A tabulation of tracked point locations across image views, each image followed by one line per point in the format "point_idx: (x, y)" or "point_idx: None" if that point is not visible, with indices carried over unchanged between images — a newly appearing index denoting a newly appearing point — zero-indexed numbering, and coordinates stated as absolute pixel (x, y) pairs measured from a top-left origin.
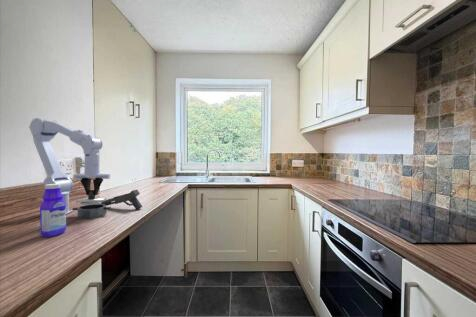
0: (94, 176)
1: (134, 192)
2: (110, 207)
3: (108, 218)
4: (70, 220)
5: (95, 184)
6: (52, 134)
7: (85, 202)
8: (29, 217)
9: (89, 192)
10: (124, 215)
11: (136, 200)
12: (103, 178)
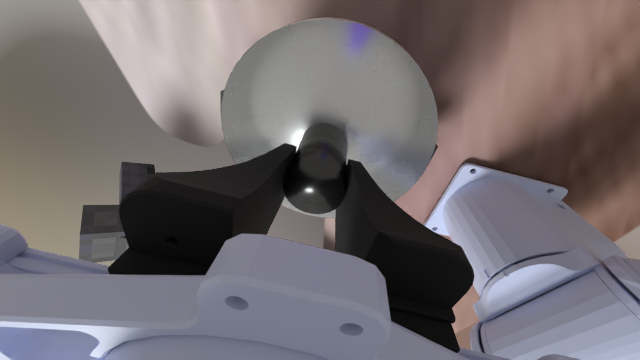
0: (156, 275)
1: (81, 223)
2: (221, 104)
3: (227, 7)
4: (433, 31)
5: (237, 175)
6: None
7: (353, 21)
8: (617, 179)
9: (333, 159)
10: (163, 59)
11: (120, 197)
12: (80, 262)
